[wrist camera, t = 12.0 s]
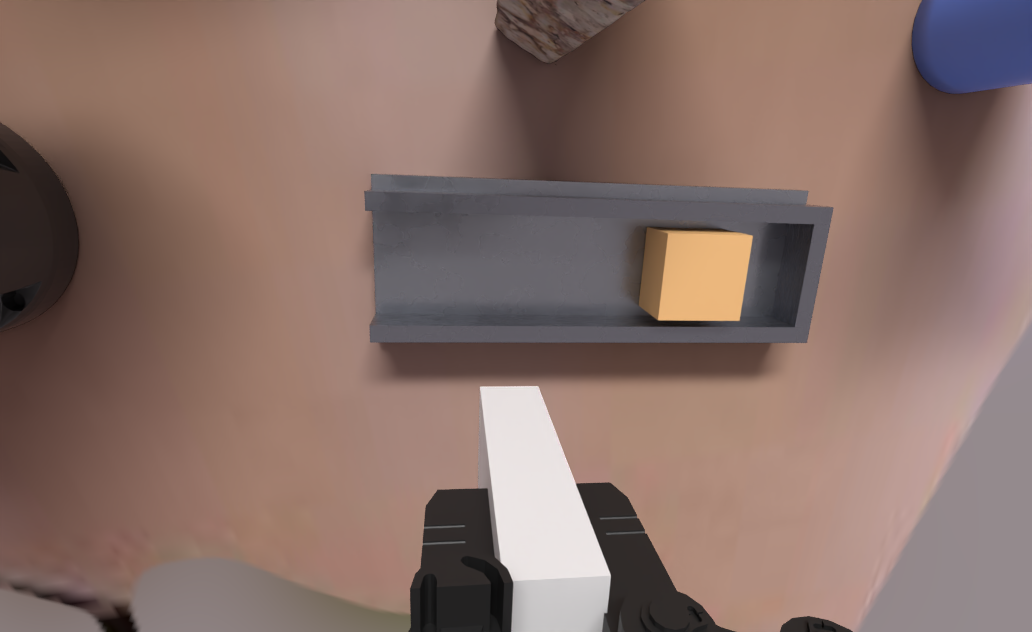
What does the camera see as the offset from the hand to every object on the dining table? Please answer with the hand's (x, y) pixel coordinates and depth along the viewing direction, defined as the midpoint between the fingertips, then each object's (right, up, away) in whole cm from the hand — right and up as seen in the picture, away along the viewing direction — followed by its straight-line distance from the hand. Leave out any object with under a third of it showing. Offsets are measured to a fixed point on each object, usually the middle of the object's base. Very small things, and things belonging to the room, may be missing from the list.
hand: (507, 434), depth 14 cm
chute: (+6, +7, +26) cm, 28 cm away
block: (+13, +7, +26) cm, 30 cm away
